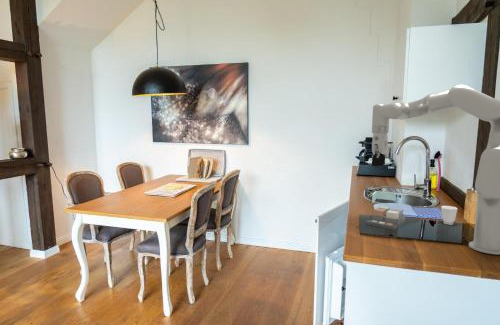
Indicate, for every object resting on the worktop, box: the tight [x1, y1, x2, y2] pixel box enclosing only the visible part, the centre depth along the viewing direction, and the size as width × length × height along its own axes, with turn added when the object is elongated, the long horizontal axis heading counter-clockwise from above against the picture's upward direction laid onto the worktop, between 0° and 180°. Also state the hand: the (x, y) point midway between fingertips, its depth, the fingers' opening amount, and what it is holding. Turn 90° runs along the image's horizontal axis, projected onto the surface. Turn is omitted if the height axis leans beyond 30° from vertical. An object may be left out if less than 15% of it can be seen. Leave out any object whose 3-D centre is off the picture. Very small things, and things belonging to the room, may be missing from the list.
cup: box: [440, 205, 458, 226], centre depth 160 cm, size 7×10×8 cm
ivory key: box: [386, 209, 399, 219], centre depth 156 cm, size 5×5×3 cm
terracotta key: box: [372, 207, 386, 217], centre depth 160 cm, size 5×5×3 cm
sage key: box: [377, 205, 391, 212], centre depth 165 cm, size 5×5×3 cm
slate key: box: [390, 207, 404, 217], centre depth 160 cm, size 5×5×3 cm
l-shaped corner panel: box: [371, 190, 397, 204], centre depth 197 cm, size 12×12×8 cm
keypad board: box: [366, 213, 406, 231], centre depth 159 cm, size 13×17×4 cm
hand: (378, 165), depth 157 cm, fingers open, 9 cm apart
